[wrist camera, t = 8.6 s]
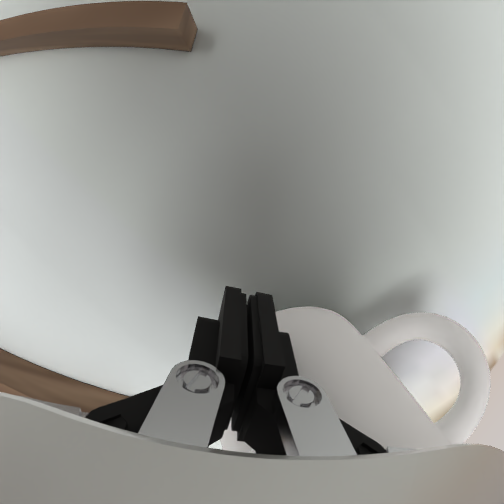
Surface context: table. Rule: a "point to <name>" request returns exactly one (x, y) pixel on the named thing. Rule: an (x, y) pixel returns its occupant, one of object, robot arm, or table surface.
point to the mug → (383, 376)
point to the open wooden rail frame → (69, 36)
